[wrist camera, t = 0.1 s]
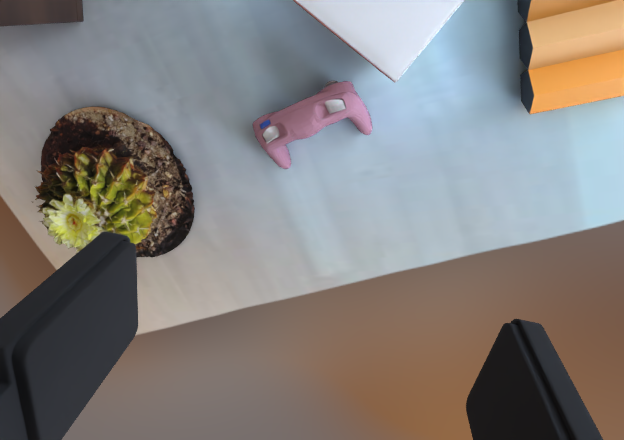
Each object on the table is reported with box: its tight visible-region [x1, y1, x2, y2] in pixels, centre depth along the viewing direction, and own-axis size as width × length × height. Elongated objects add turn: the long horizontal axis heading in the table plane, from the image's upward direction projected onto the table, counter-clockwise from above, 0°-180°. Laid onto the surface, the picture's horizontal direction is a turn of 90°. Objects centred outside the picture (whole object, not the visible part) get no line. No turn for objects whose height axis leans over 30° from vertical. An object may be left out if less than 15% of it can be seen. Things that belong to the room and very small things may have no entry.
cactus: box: [32, 107, 195, 257], centre depth 41 cm, size 17×16×10 cm
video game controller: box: [253, 81, 372, 169], centre depth 38 cm, size 10×5×7 cm, turn 115°
